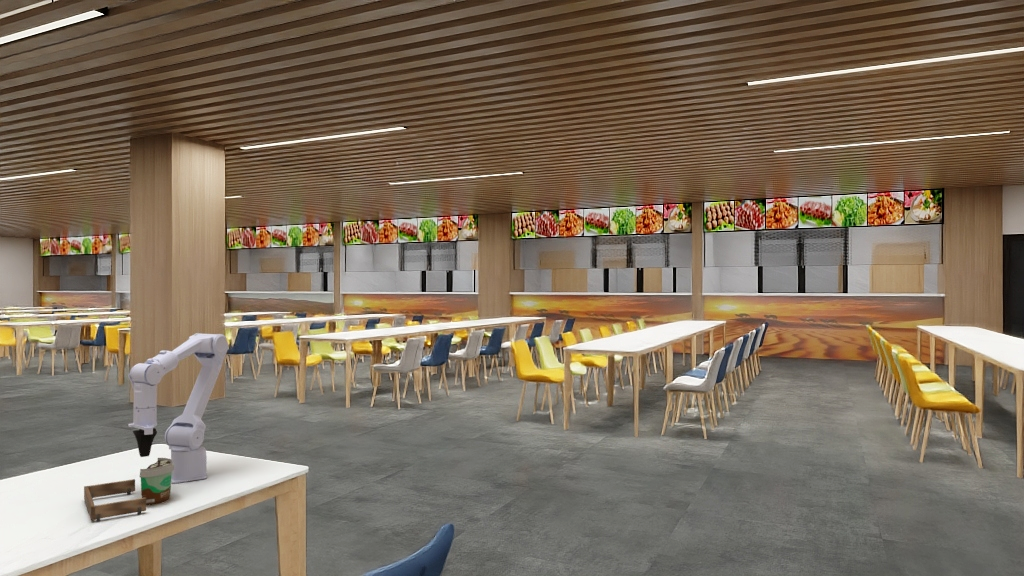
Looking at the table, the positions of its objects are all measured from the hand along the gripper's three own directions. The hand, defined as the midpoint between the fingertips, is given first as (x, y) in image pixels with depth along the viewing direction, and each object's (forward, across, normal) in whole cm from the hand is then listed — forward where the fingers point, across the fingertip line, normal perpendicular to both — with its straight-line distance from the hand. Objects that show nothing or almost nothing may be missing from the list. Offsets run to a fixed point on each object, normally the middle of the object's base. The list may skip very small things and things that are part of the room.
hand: (144, 456), depth 194 cm
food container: (+11, +8, +3) cm, 14 cm away
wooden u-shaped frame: (+11, +8, -8) cm, 15 cm away
